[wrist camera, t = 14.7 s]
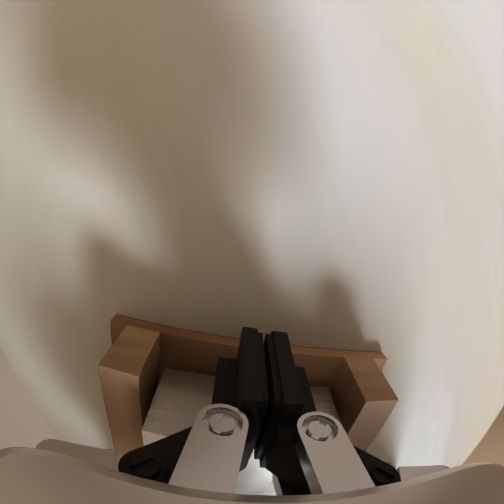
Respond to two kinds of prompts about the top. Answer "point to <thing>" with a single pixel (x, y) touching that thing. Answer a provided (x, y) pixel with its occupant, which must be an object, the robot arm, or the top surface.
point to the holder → (205, 362)
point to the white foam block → (189, 405)
